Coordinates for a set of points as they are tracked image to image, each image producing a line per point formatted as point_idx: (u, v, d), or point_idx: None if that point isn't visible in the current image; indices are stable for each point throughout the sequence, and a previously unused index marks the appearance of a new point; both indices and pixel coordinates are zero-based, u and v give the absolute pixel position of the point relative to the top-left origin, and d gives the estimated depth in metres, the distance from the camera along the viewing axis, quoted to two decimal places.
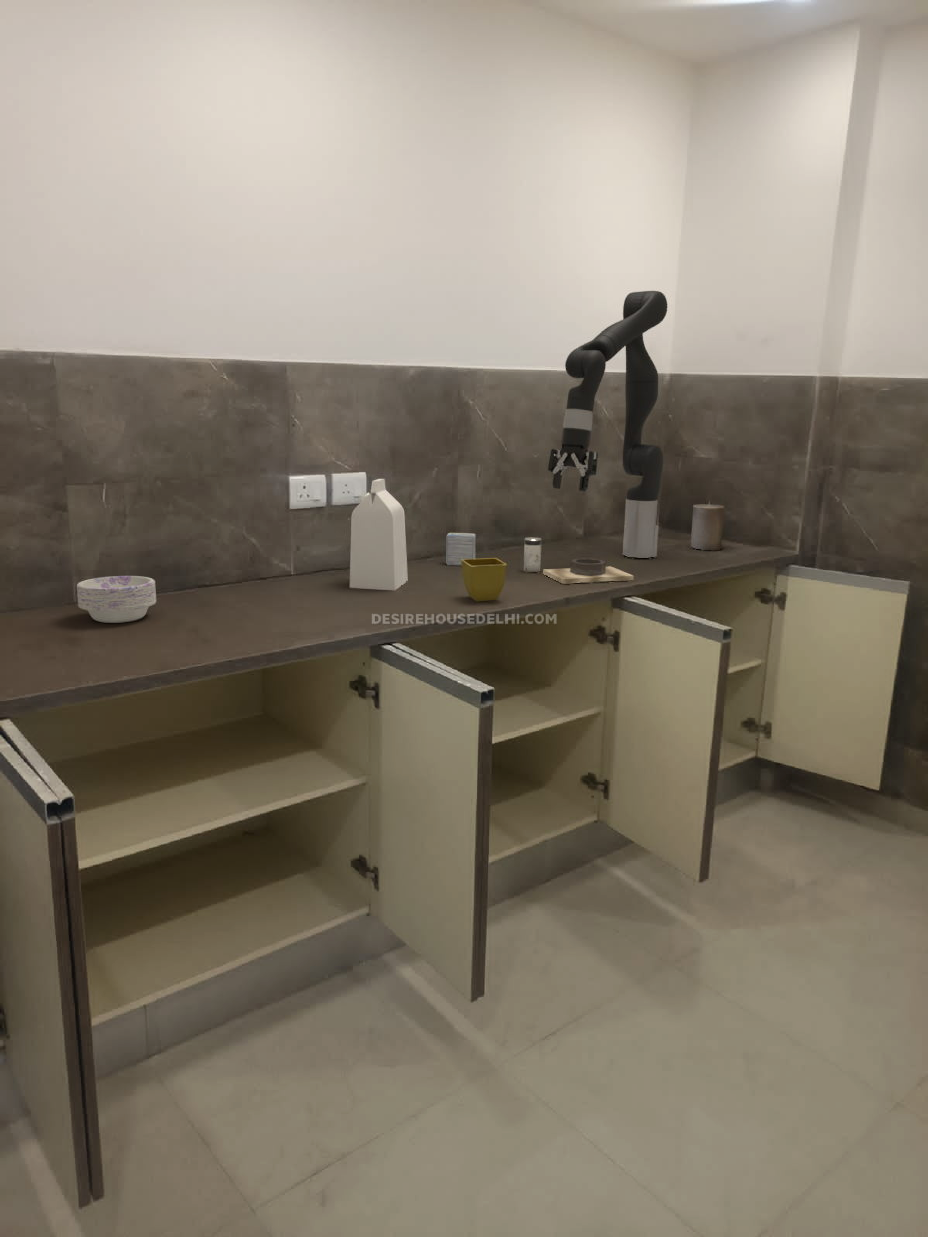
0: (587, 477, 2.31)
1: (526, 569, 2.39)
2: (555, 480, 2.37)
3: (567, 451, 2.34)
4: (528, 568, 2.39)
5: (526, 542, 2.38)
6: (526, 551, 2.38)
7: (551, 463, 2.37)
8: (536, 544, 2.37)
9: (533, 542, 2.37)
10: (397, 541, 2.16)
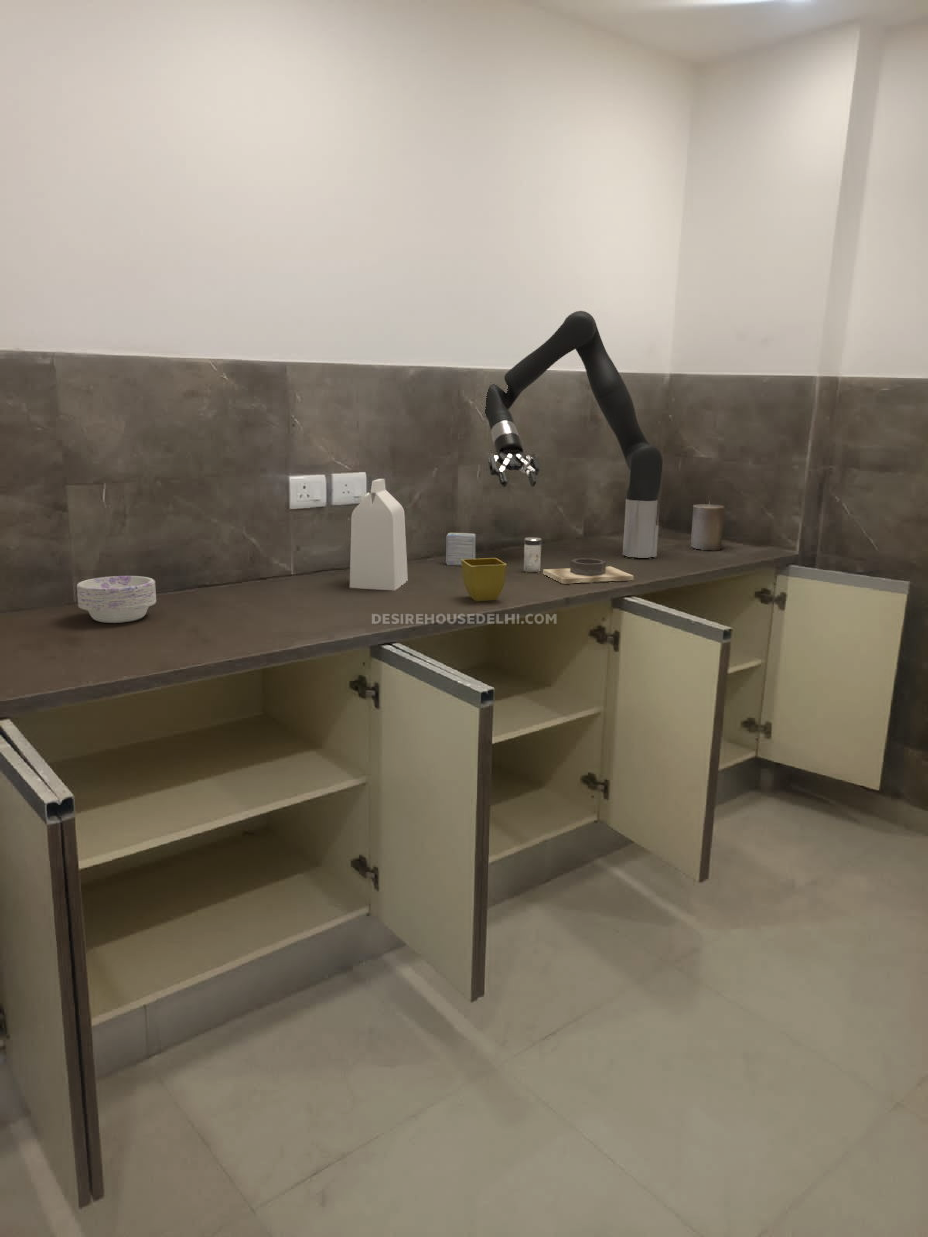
0: (498, 474, 2.46)
1: (526, 569, 2.39)
2: None
3: None
4: (528, 568, 2.39)
5: (526, 542, 2.38)
6: (526, 551, 2.38)
7: None
8: (536, 544, 2.37)
9: (533, 542, 2.37)
10: (397, 541, 2.16)
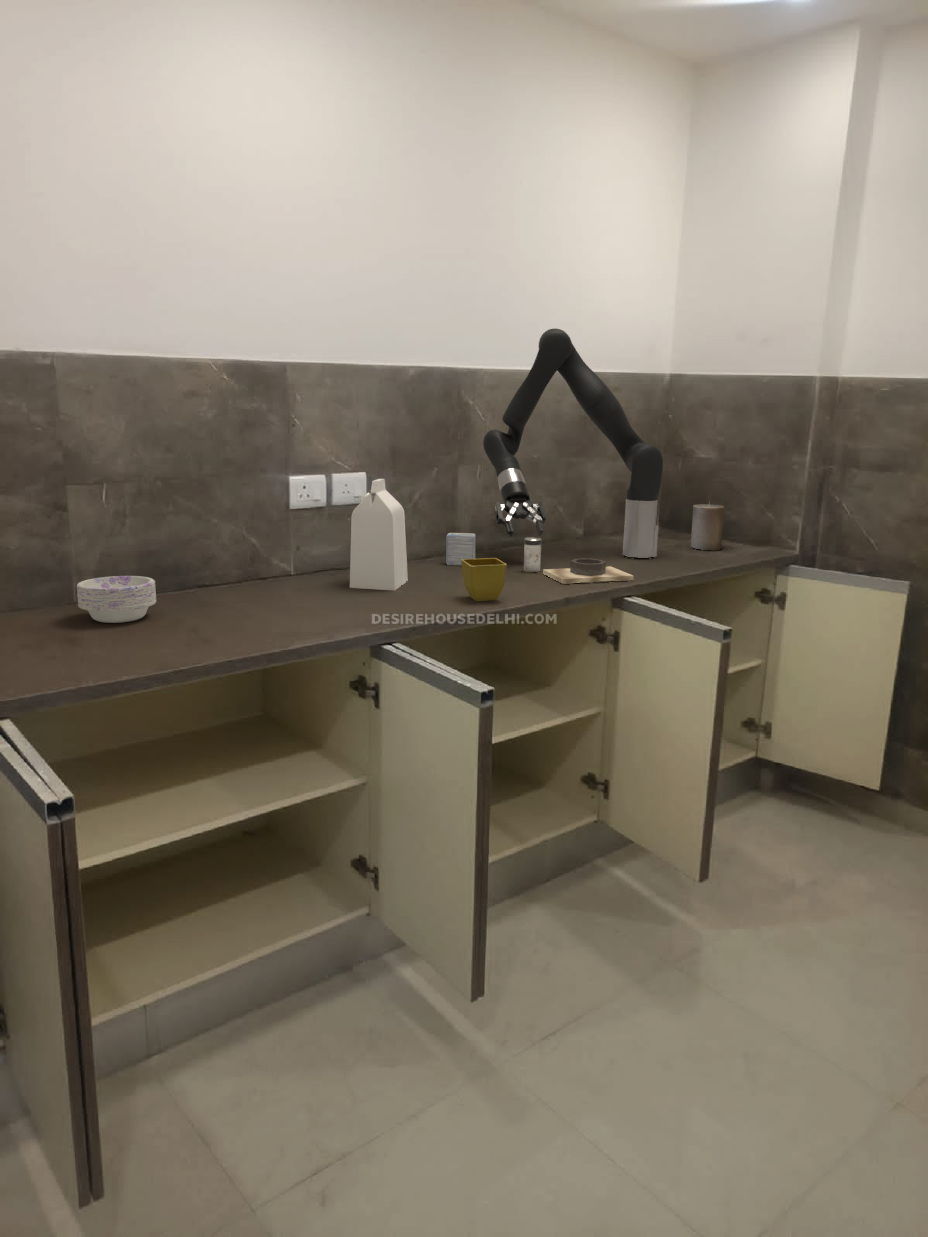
0: (504, 524, 2.43)
1: (526, 569, 2.39)
2: None
3: None
4: (528, 568, 2.39)
5: (526, 542, 2.38)
6: (526, 551, 2.38)
7: None
8: (536, 544, 2.37)
9: (533, 542, 2.37)
10: (397, 541, 2.16)
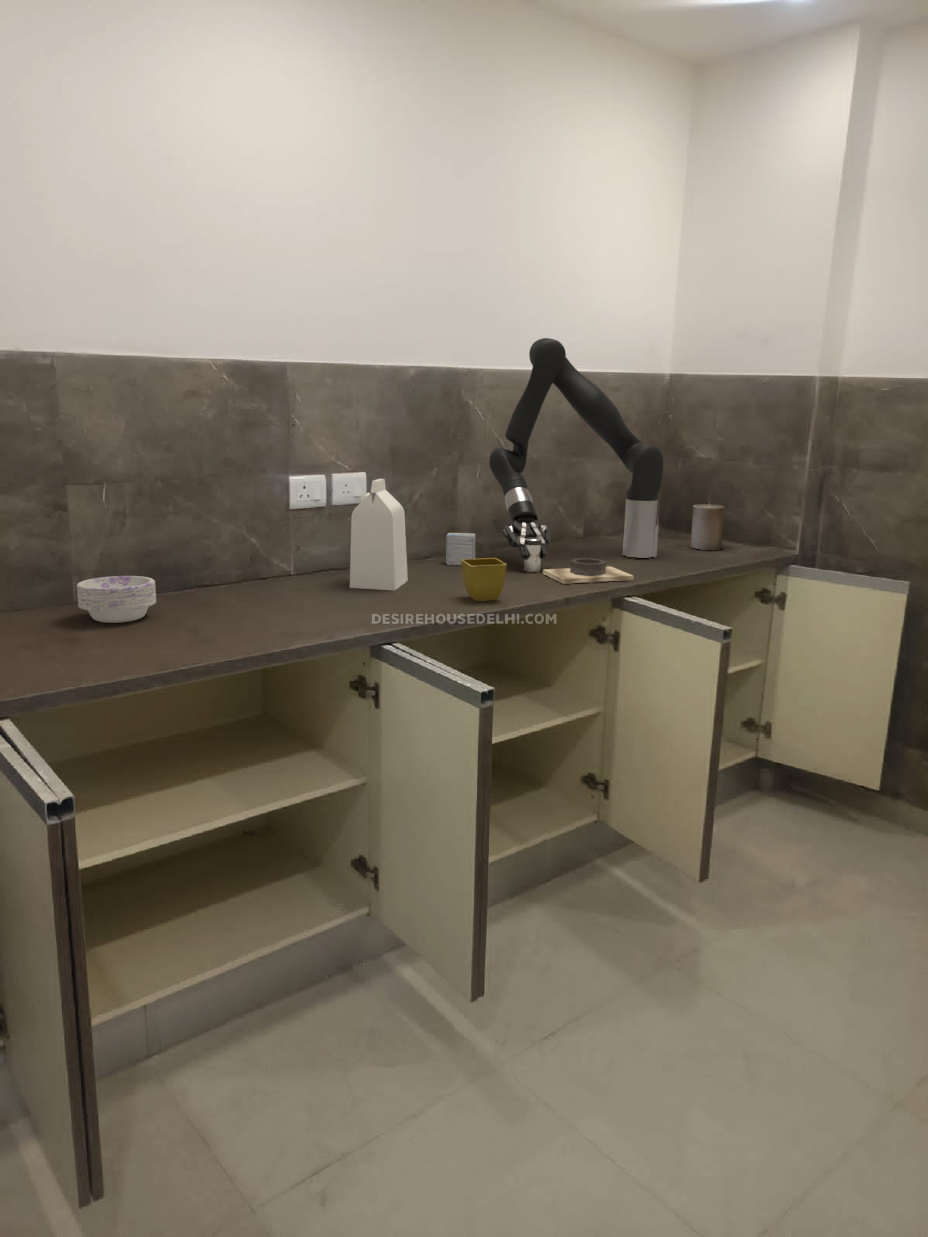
0: (519, 547, 2.39)
1: (526, 569, 2.39)
2: None
3: None
4: (528, 568, 2.39)
5: (526, 542, 2.38)
6: None
7: None
8: (536, 544, 2.37)
9: (533, 542, 2.37)
10: (397, 541, 2.16)
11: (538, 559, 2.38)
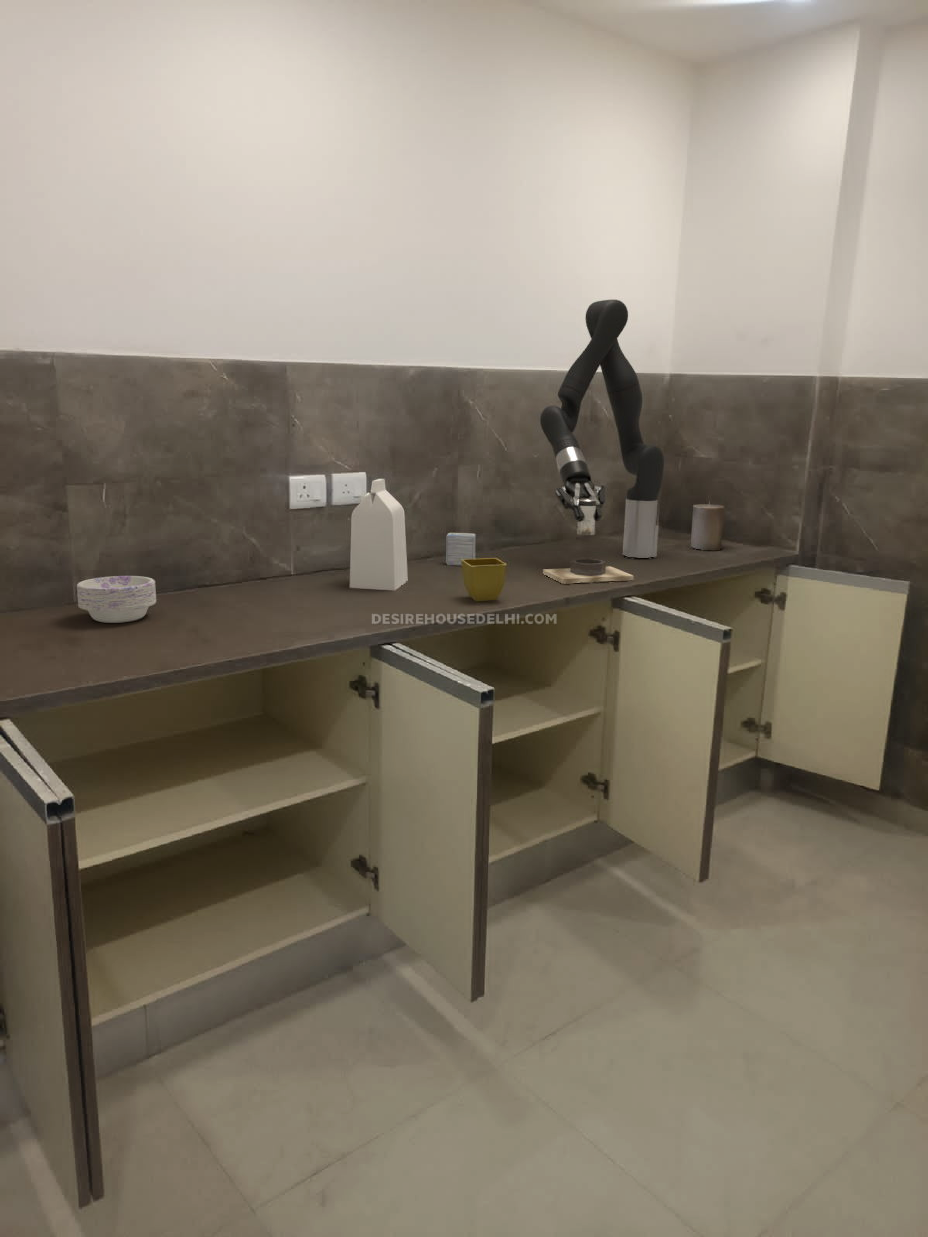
0: (573, 508, 2.29)
1: (580, 531, 2.29)
2: None
3: None
4: (582, 530, 2.29)
5: (580, 503, 2.28)
6: None
7: None
8: (591, 505, 2.27)
9: (588, 503, 2.27)
10: (397, 541, 2.16)
11: (593, 521, 2.28)
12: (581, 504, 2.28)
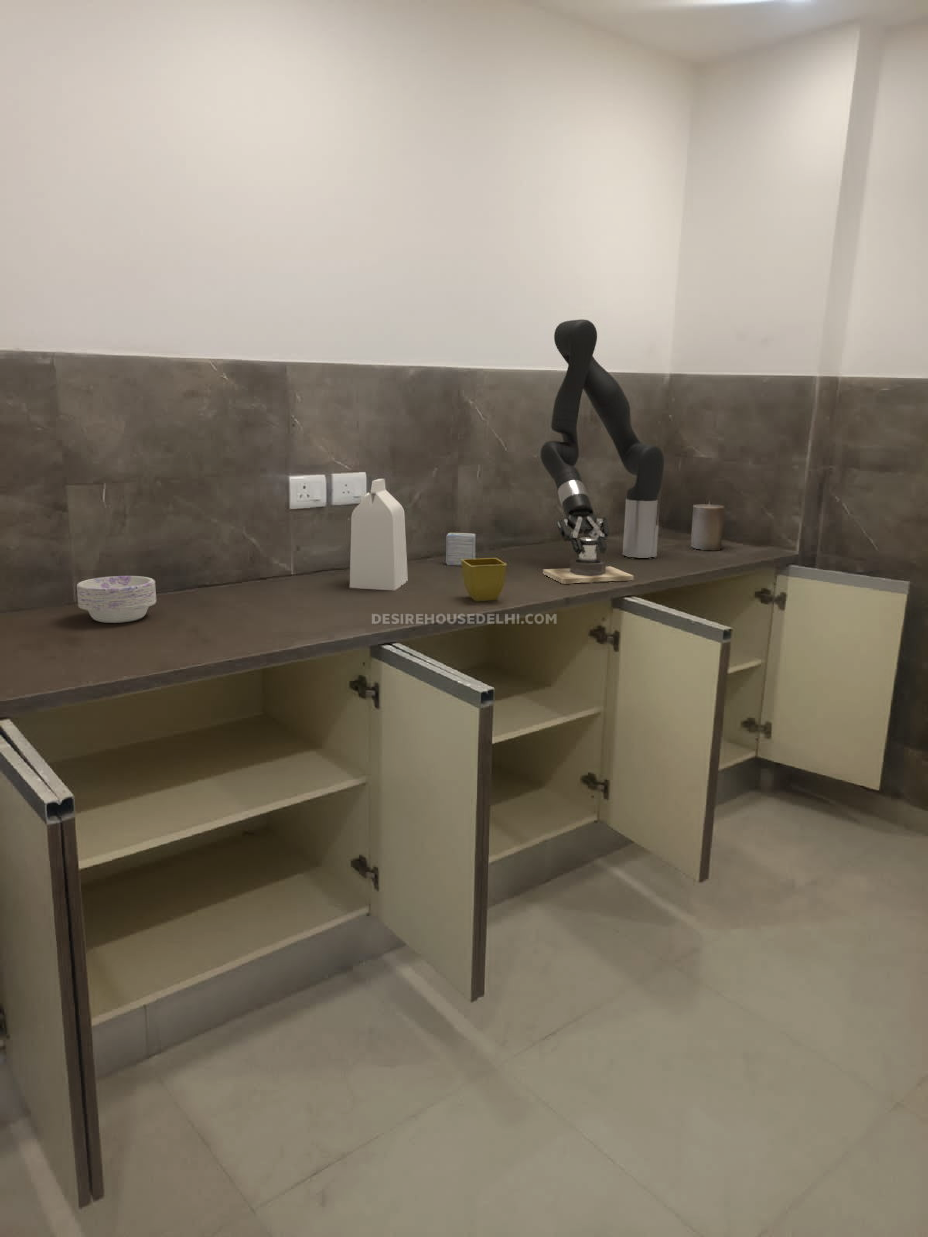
0: (571, 541, 2.30)
1: None
2: None
3: None
4: None
5: (581, 542, 2.30)
6: (581, 551, 2.30)
7: None
8: (592, 544, 2.29)
9: (589, 542, 2.29)
10: (397, 541, 2.16)
11: (594, 560, 2.30)
12: (582, 543, 2.29)
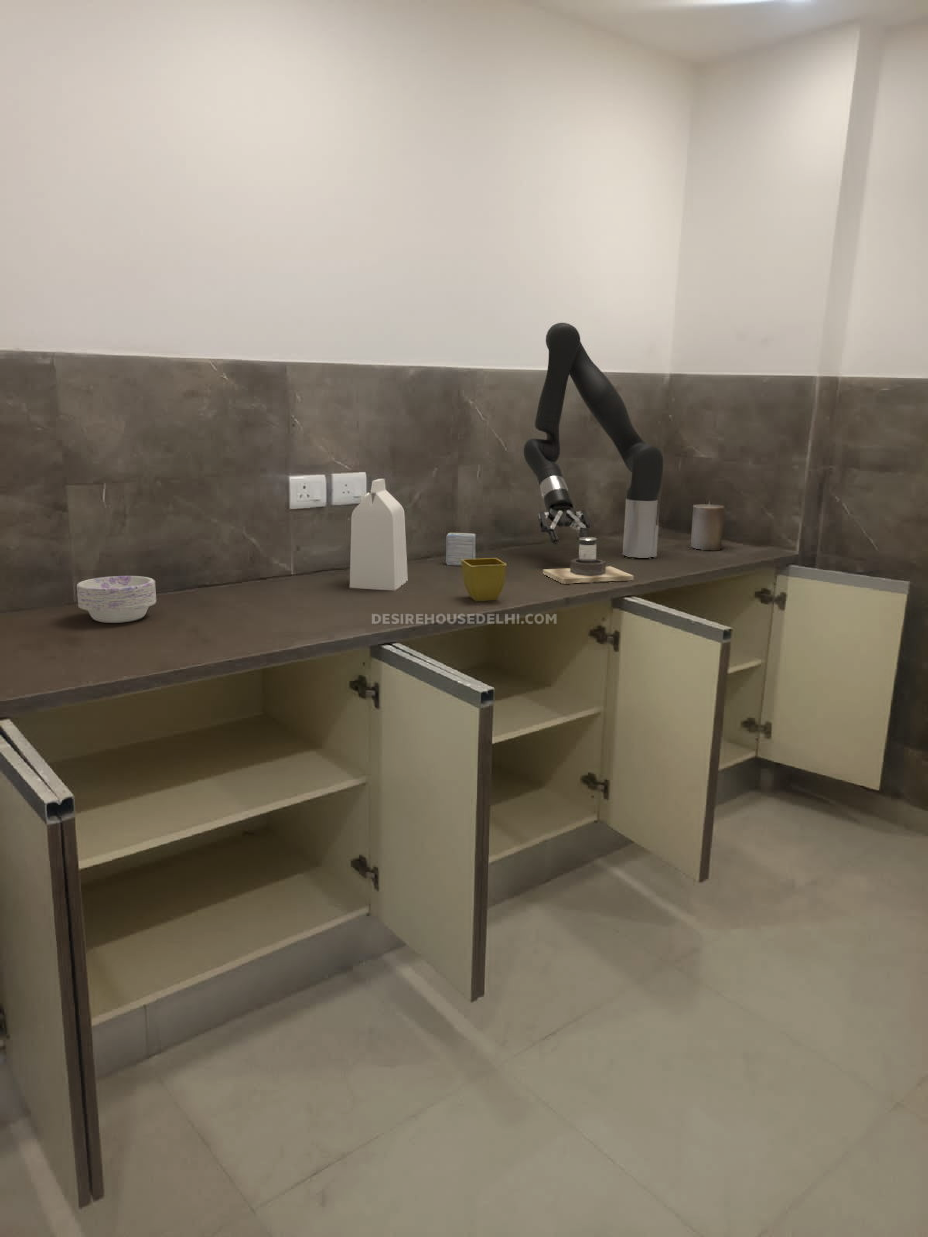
0: (549, 532, 2.42)
1: None
2: None
3: None
4: None
5: (581, 542, 2.30)
6: (581, 551, 2.30)
7: None
8: (592, 544, 2.29)
9: (589, 542, 2.29)
10: (397, 541, 2.16)
11: (594, 559, 2.30)
12: (582, 543, 2.29)
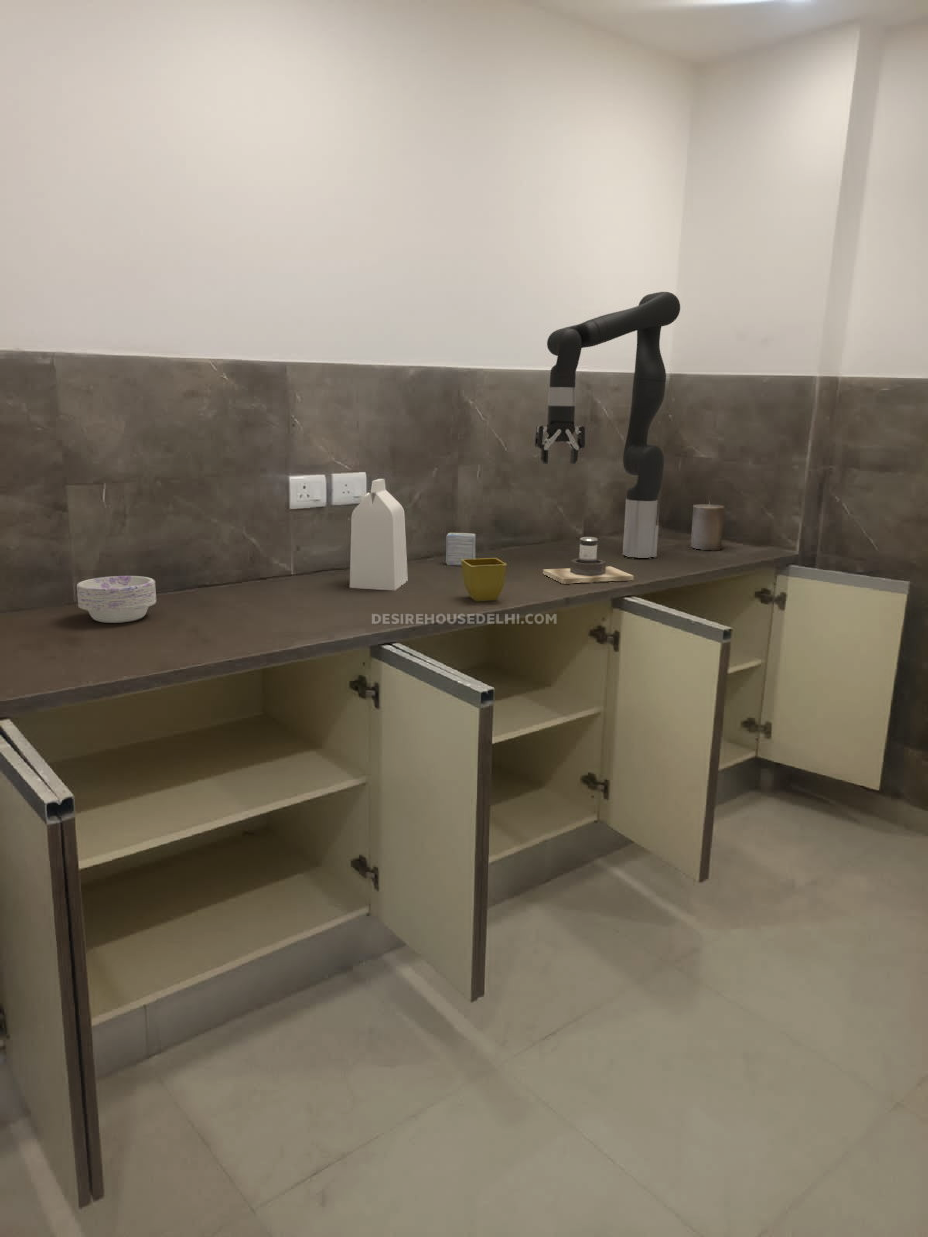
0: (541, 450, 2.46)
1: None
2: None
3: None
4: None
5: (583, 542, 2.29)
6: (582, 552, 2.30)
7: None
8: (593, 544, 2.29)
9: (590, 543, 2.28)
10: (397, 541, 2.16)
11: (594, 560, 2.30)
12: (583, 544, 2.29)
